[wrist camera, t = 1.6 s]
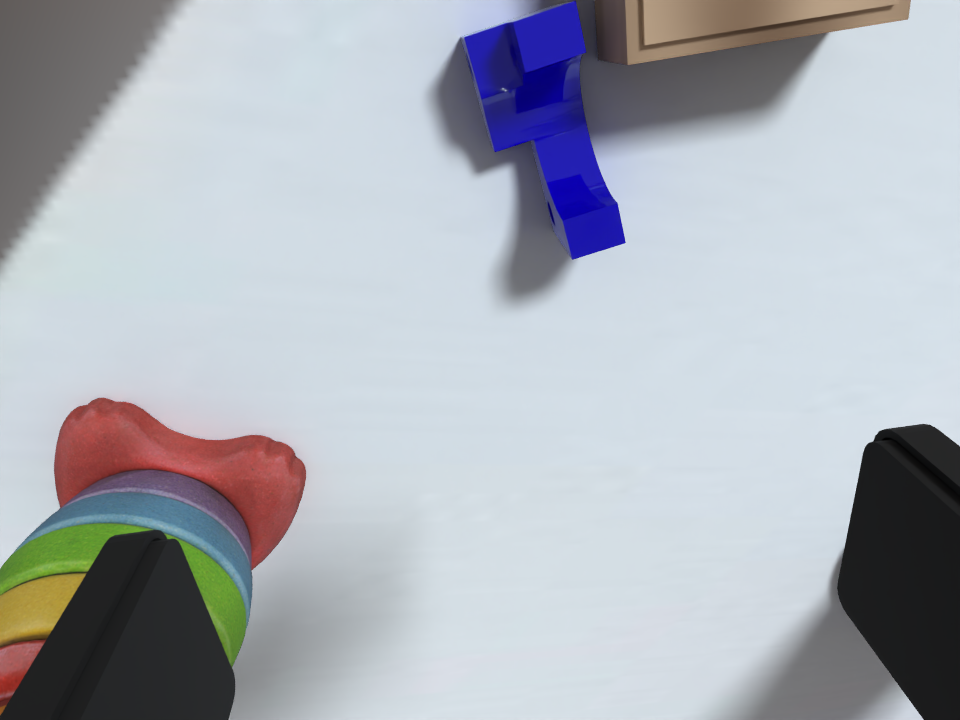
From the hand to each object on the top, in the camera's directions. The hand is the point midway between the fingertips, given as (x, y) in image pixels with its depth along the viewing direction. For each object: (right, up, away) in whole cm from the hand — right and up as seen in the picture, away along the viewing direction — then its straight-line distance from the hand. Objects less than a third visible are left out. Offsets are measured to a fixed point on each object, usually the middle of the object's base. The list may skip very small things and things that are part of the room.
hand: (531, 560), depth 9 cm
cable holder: (+1, +12, +17) cm, 20 cm away
